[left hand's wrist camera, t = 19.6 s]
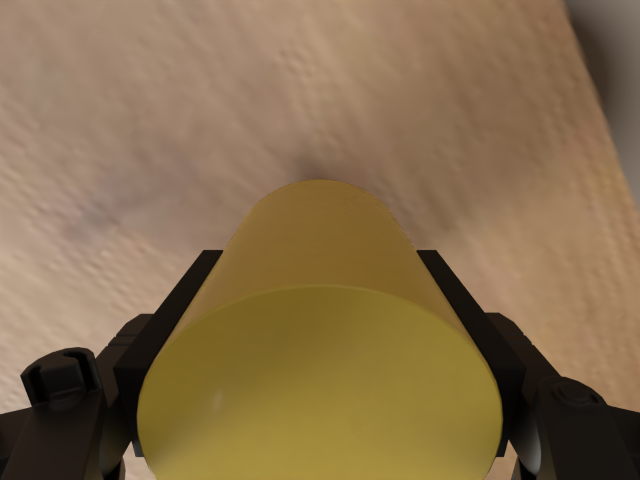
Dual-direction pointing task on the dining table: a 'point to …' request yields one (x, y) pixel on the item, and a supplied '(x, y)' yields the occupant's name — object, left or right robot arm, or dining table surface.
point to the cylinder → (319, 357)
